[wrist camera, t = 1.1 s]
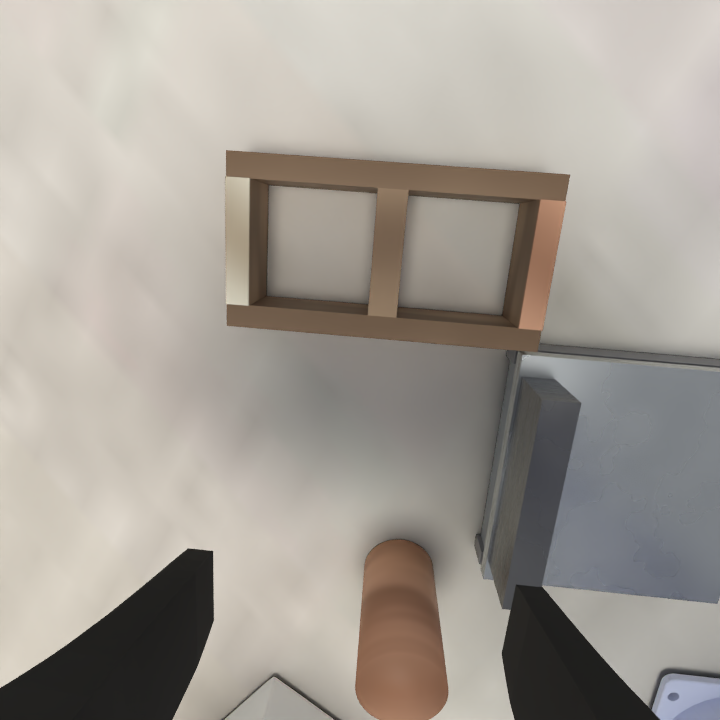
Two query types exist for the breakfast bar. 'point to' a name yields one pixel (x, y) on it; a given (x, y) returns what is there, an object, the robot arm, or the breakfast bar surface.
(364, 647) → the peg
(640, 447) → the cover
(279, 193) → the breakfast bar surface
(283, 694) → the milk carton
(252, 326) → the socket board
